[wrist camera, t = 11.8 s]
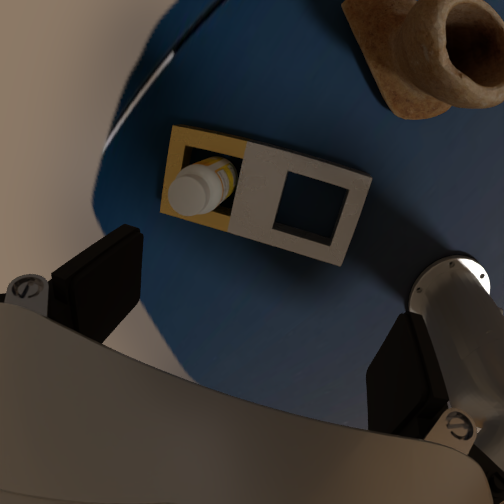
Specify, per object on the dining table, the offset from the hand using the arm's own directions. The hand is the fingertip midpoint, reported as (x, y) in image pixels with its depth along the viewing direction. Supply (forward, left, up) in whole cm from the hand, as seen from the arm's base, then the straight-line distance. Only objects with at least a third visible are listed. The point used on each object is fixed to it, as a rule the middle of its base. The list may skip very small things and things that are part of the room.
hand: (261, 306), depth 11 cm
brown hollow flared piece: (-8, -17, -29) cm, 34 cm away
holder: (+5, +4, -28) cm, 29 cm away
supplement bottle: (+10, +4, -28) cm, 31 cm away
